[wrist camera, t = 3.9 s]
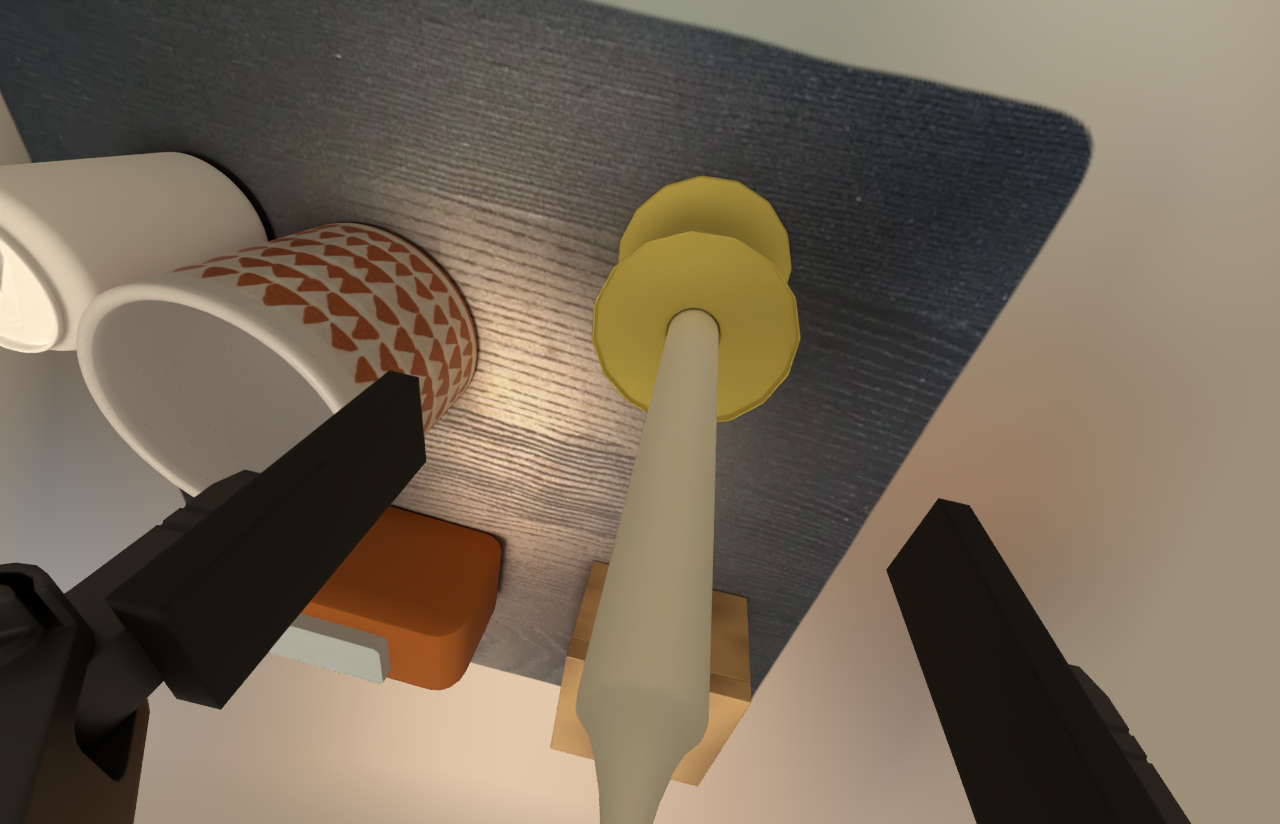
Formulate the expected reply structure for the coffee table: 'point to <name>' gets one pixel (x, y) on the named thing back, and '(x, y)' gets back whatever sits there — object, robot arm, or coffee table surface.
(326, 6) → the coffee table surface
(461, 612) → the alarm clock
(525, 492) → the coffee table surface
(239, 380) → the planter
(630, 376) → the candle
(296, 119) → the coffee table surface
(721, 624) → the lidded tan carton
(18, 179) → the beverage can
